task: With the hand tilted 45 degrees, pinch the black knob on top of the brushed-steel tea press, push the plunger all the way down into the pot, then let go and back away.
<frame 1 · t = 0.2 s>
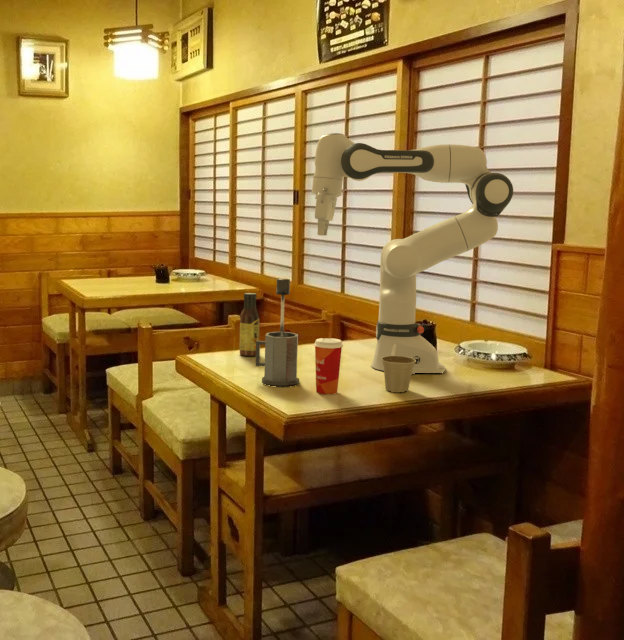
hand: (322, 235, 236), 40 cm above the table, tool pointing down, fingers open, 8 cm apart
plunger: (282, 311, 215), point 20 cm above the table, slide at 0.0 cm
press pot: (280, 382, 219), on the table
paper cup: (326, 392, 210), on the table
flower pot: (396, 391, 214), on the table
sauce bottle: (249, 355, 254), on the table
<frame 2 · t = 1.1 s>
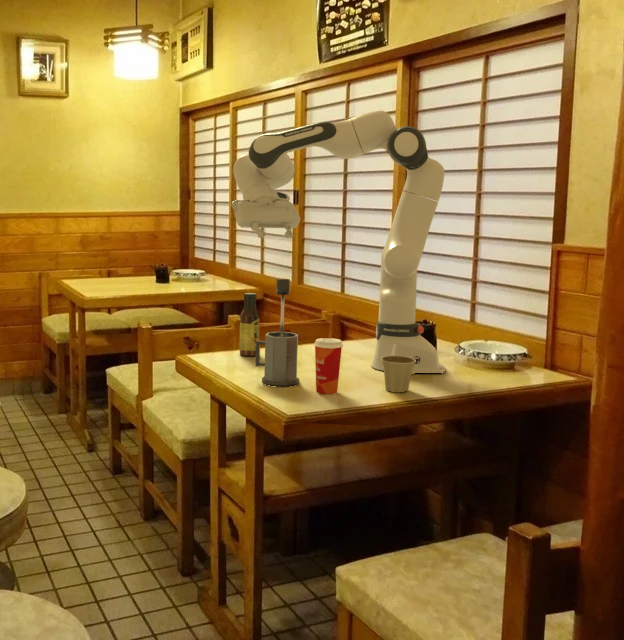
hand: (276, 236, 229), 39 cm above the table, tool tilted 45°, fingers open, 8 cm apart
nothing on the table moved.
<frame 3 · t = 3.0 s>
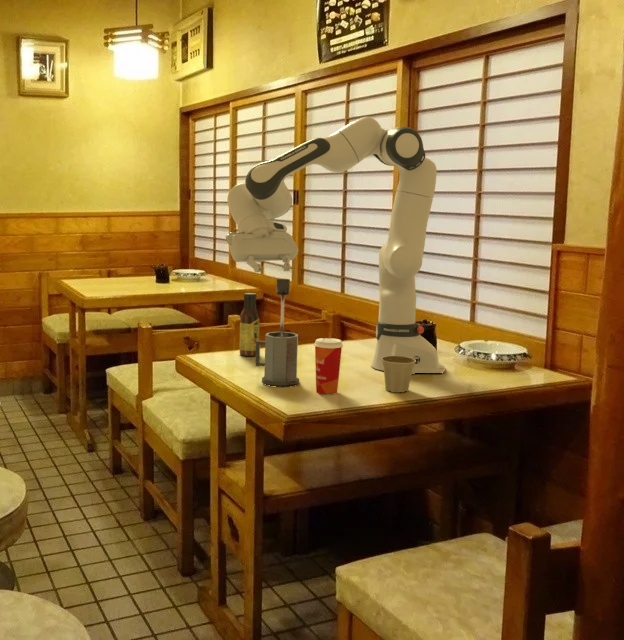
hand: (273, 270, 218), 31 cm above the table, tool tilted 45°, fingers open, 8 cm apart
nothing on the table moved.
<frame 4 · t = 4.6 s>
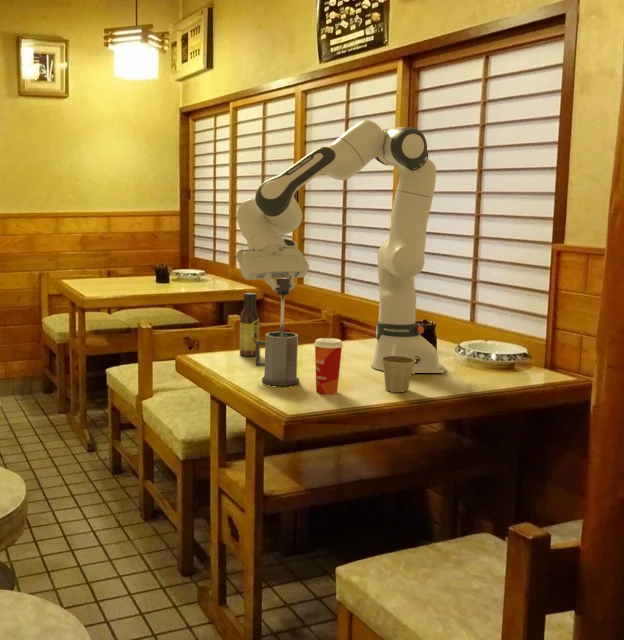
hand: (284, 288, 214), 26 cm above the table, tool tilted 45°, fingers closed on plunger, 4 cm apart
plunger: (282, 311, 215), point 20 cm above the table, slide at 0.0 cm, touching gripper
everything else where it was.
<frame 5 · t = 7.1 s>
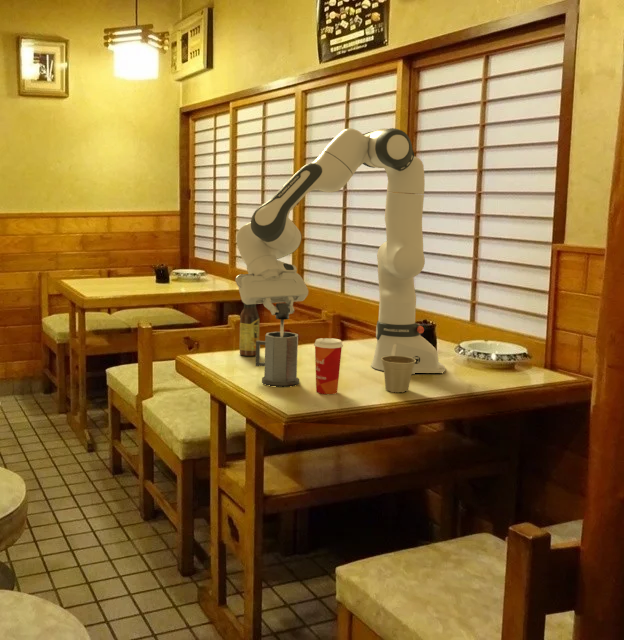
hand: (283, 313, 215), 20 cm above the table, tool tilted 45°, fingers closed on plunger, 4 cm apart
plunger: (281, 335, 216), point 13 cm above the table, slide at 6.8 cm, touching gripper
everything else where it was.
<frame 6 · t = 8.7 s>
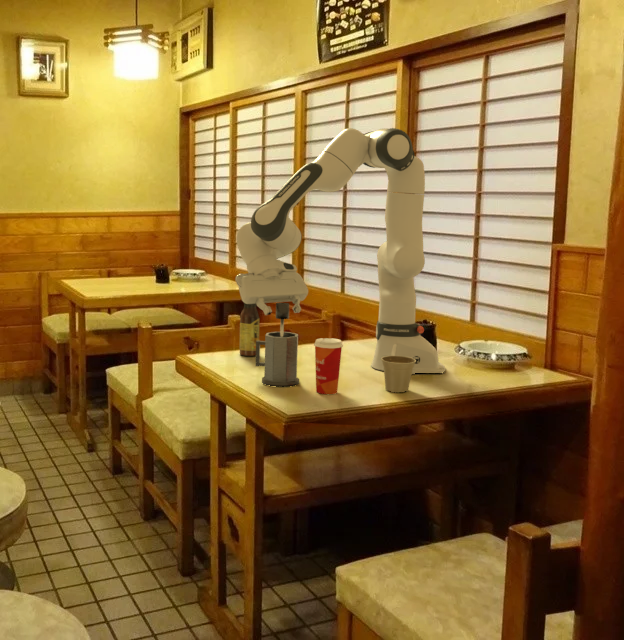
hand: (283, 312, 215), 20 cm above the table, tool tilted 45°, fingers open, 8 cm apart
plunger: (281, 335, 216), point 13 cm above the table, slide at 6.6 cm
everything else where it was.
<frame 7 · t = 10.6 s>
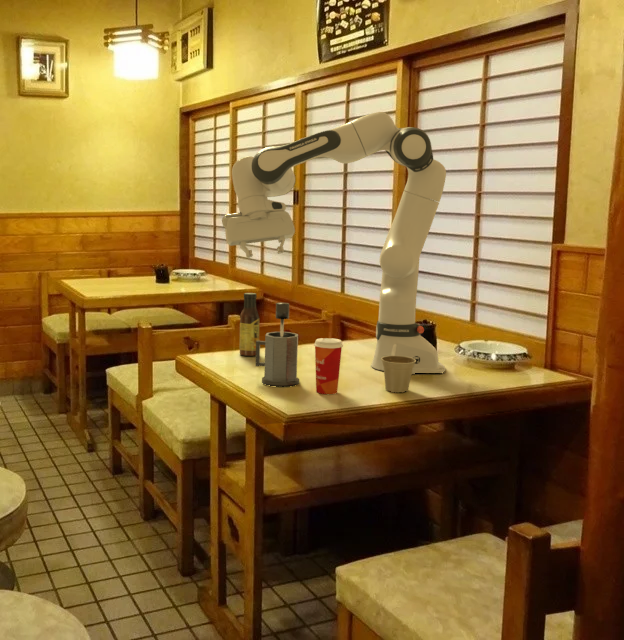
hand: (265, 254, 227), 34 cm above the table, tool tilted 25°, fingers open, 8 cm apart
nothing on the table moved.
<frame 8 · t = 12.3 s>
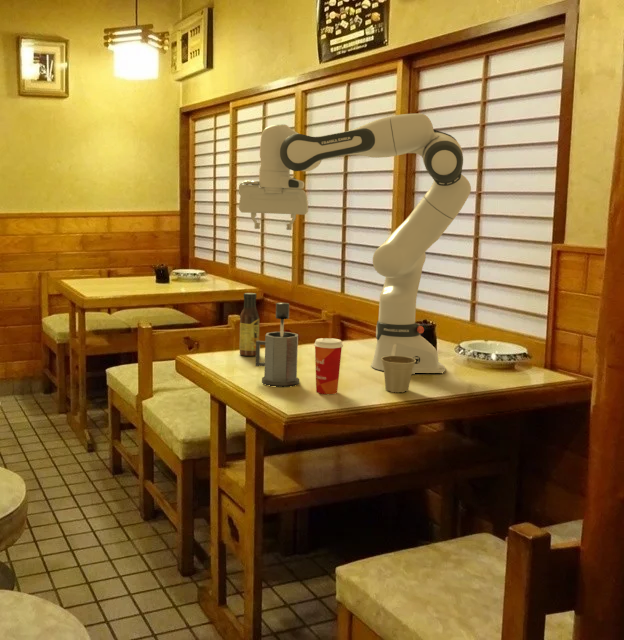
hand: (273, 229, 233), 41 cm above the table, tool pointing down, fingers open, 8 cm apart
nothing on the table moved.
at the end: plunger slide at 6.6 cm; the gripper is holding nothing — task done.
